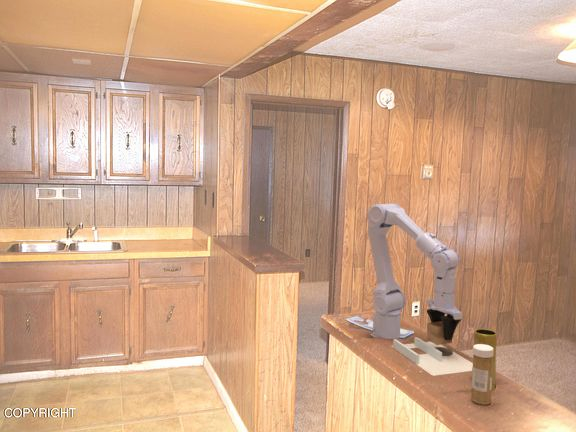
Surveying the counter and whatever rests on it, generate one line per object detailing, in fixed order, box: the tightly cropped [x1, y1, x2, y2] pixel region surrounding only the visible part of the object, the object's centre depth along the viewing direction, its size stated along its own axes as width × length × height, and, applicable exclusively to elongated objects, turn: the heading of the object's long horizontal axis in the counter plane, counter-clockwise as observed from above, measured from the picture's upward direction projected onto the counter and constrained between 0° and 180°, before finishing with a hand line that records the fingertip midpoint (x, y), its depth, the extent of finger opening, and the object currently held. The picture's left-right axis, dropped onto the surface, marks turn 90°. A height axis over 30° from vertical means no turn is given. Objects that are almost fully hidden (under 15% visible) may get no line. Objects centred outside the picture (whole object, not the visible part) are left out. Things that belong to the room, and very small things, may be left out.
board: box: [391, 341, 473, 377], centre depth 146 cm, size 23×16×2 cm
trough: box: [392, 336, 442, 365], centre depth 148 cm, size 14×8×2 cm, turn 16°
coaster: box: [435, 346, 454, 356], centre depth 149 cm, size 6×6×1 cm
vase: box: [471, 328, 498, 391], centre depth 129 cm, size 6×6×14 cm
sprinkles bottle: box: [471, 344, 494, 406], centre depth 121 cm, size 5×5×14 cm
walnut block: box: [426, 321, 453, 345], centre depth 148 cm, size 5×5×5 cm
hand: (442, 336), depth 149 cm, fingers closed on walnut block, 5 cm apart
